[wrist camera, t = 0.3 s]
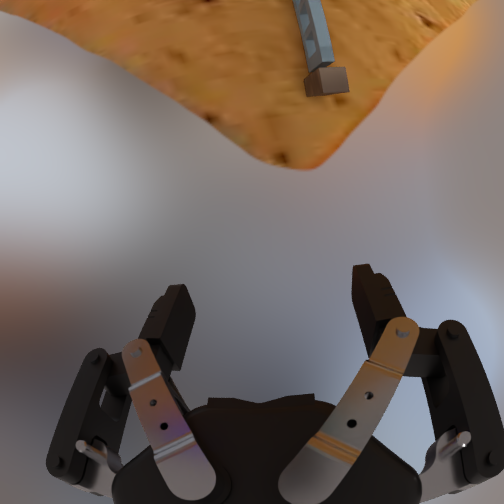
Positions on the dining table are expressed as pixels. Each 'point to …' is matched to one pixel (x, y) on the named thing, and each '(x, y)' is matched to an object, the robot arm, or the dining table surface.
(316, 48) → the gate leaf
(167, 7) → the dining table surface
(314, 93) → the gate posts
